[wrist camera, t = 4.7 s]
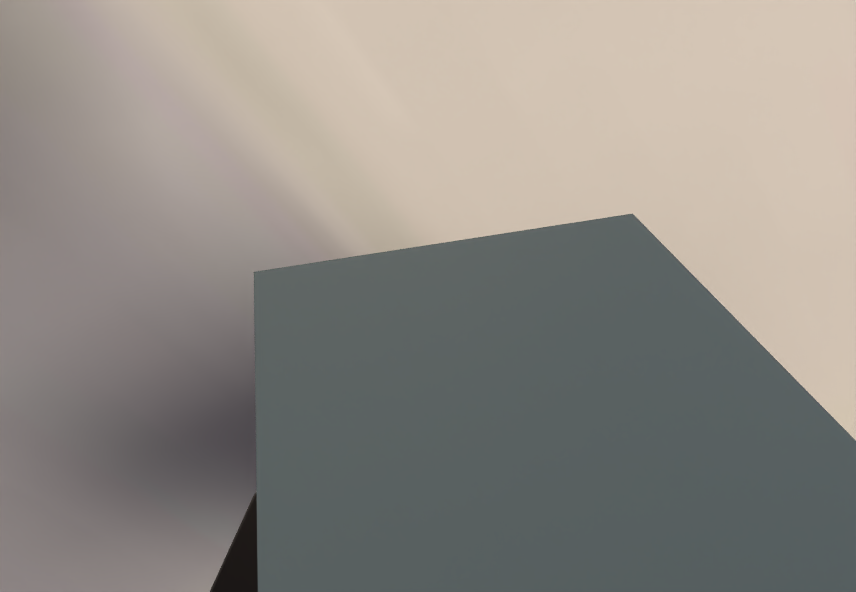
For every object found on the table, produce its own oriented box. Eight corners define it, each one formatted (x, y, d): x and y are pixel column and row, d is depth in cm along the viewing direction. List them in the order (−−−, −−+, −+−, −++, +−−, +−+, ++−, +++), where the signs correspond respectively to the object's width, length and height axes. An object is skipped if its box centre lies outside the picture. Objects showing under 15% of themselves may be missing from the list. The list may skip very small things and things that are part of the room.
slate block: (598, 466, 12) (832, 895, 7) (313, 526, 11) (360, 1046, 7) (632, 213, 9) (1054, 644, 4) (253, 271, 9) (260, 863, 4)
